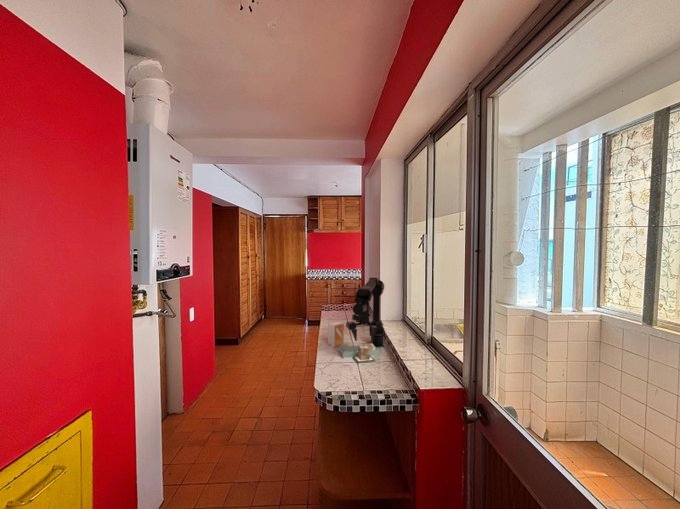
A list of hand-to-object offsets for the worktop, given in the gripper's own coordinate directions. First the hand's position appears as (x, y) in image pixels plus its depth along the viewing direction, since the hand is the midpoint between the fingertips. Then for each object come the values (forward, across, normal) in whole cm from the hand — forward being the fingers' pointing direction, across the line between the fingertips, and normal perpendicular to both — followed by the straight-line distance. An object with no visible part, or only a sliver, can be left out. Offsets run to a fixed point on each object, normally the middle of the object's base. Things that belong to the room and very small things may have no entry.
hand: (363, 340), depth 165 cm
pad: (+11, 0, 0) cm, 11 cm away
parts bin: (+10, -1, -12) cm, 16 cm away
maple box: (+11, -8, -12) cm, 18 cm away
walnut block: (+10, 0, 0) cm, 10 cm away
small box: (+11, +7, -31) cm, 34 cm away
